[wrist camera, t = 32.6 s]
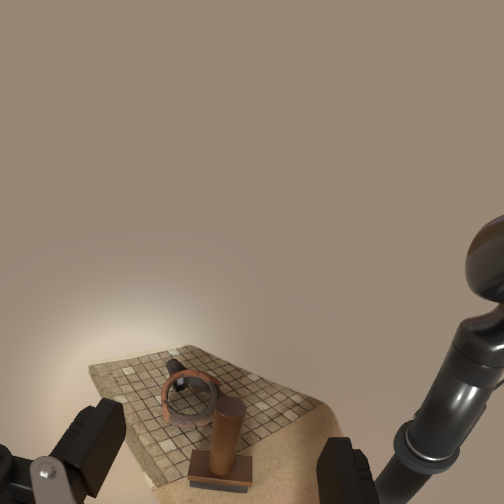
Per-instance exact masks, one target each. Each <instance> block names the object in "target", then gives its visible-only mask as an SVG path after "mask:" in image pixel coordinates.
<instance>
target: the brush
mask: <svg viewBox="0 0 504 504" xmlns="http://www.w3.org/2000/svg"><path fill="white" fill-rule="evenodd" d="M245 413H246V406H245V404H244V403H243V402H242V401H241V400H239V399H237V398H234V397H223V398H220V399H218V400H217V401H216V403H215V406H214V416H213V425H212V434H211V443H210V452H207V451H200V450H194V449H192V454H191V460H190V465H189V471H188V480H190V487H196V488H202V489H210V490H218V491H227V492H238V493H247V490H248V487H251V485H252V456H242V455H237V452H238V447H239V442H240V437H241V432H242V428H243V423H244V418H245Z"/></svg>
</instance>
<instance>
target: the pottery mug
mask: <svg viewBox="0 0 504 504" xmlns="http://www.w3.org/2000/svg"><path fill="white" fill-rule="evenodd" d="M166 367H167V369H168V372H169V374H170V377H169V378H168V379H167V381H166V382H165V383H164V385H163V387H162V391H161V403H162V407H163V408H162V411H161V413H162V415H163V417H164V419H165V420H166V422H167V423H170V424H171V425H173V426H176V427H180V428H186V429H196V428H197V426H199V427H203V426H205V425H207V424H208V423H210V422H212V421H213V416H214V406H215V403H216V401H217V400H218V399H220V398H223V397H226V395H224V394H223V393H222V391H221V390H220V389H219V386H222V385H221V383H220V382H219V381H218V380H217V379H216V378H215V377H213V376H212V375H210V374H208V373H205V372H202V371H196V370H188V369H186V368H185V367H184V366H183V365H182V364H181V363H180V362H179V361H178V360H177V359H171V360H169V361H168V362H167V363H166ZM189 383H190V386H191V388H192V392H193V393H195V392H207V393H211V401H210V404H209V405H208V406H207V407H206V408H205V409H204V410H203V411H201V412H200V413H197V414H193V415H186V414H181V413H179V412H177V411H175V410H174V409H173V408H172V407H169V406H168V392H169V389H170V387H171V386H173V389H174V391H175V392H179V391H181V390H184V389H185V388H186V386H187V385H188V384H189Z"/></svg>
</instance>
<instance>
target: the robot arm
mask: <svg viewBox="0 0 504 504" xmlns="http://www.w3.org/2000/svg"><path fill="white" fill-rule="evenodd" d="M465 263H466V264H465V275H466V280H467V283H468V286H469V287H470V289H471V290H472V291H473V292H474V294H476V295H477V296H479V297H481V298H483V299H485V300H489V301H493V302H497V303H499V305H498V306H497V307H496V308H495V309H494V310H492V311H490V312H489V313H486V314H484V315H480V316H475V317H471V318H467V319H465V320H463V321H462V322H461V323H460V324H459V326H458V328H457V330H456V333H455V336H454V338H453V340H452V343H451V345H450V348H449V350H448V352H447V355H446V357H445V359H444V362H443V364H442V366H441V368H440V370H439V372H438V374H437V376H436V379H435V381H434V383H433V385H432V387H431V389H430V391H429V393H428V394H427V396H426V398H425V400H424V402H423V404H422V406H421V408H420V409H419V410H418V411H417V412H416V413H415V414H414V416H415V415H416V416H415V418H414V420H413V421H412V423H411V424H410V426H409V427H408V429H407V430H406V432H405V435H404V442H405V445H406V447H407V449H408V450H409V451H410V453H411V454H412V455H414V456H415V457H416V458H418V459H420V460H422V461H425V462H429V463H440V462H443V461H445V460H447V459H448V458H450V457H451V455H452V454H453V453H454V452H455V451H457V450H458V449H459V448H460V446H461V445H462V443H463V442H464V440H465V439H466V438H467V436H468V435H469V434H470V432H471V431H472V429H473V428H474V426H475V424H476V423H477V422H478V420H479V419H480V417H481V416H482V414H483V412H484V411H485V409H486V403H487V401H488V399H489V398H490V396H491V394H492V392H493V391H494V390H496V389H497V388H498V387H499V386H501V385H502V384H503V383H504V379H503V380H502V381H501V382H499V383H498V381H499V379H500V377H501V375H502V373H503V371H504V215H502V216H500V217H498V218H496V219H494V220H492V221H490V222H489V223H487V224H486V225H485V226H483V227H482V229H481V230H480V231H479V232H478V233H477V235H476V236H475V237H474V239H473V241H472V243H471V245H470V248H469V250H468V253H467V257H466V262H465ZM497 383H498V384H497ZM414 416H413V417H414ZM125 436H126V423H125V417H124V411H123V405H122V403H120V402H117V401H113V400H110V399H107V398H102V399H101V400H100V402H99V404H98V405H97V406H96V408H95V407H92V406H88V407H86V408H85V409H83V410H81V411H80V412H79V413H78V415H77V416H76V418H75V419H74V422H72V423H71V425H70V426H69V429H67V430H66V432H65V433H64V435H63V436H62V438H61V439H60V441H59V442H58V443H57V445H56V446H55V448H54V449H53V451H52V452H51V454H50V455H49V456H42V457H39V458H37V459H35V460H29V459H25V458H21V457H17V456H13V455H12V454H11V452H10V451H9V449H8V448H6V447H5V446H4V445H1V444H0V504H84V500H85V498H86V496H87V495H88V496H91V497H93V498H96V497H97V495H98V492H99V490H100V488H101V486H102V484H103V482H104V480H105V478H106V476H107V474H108V472H109V470H110V468H111V466H112V464H113V462H114V460H115V458H116V456H117V454H118V451H119V449H120V447H121V445H122V443H123V441H124V439H125ZM316 473H317V482H318V490H319V499H320V504H380V503H379V500H378V496H377V492H376V488H375V485H374V481H373V479H372V474H371V471H370V467H369V463H368V459H367V458H366V456H365V455H364V454H363V453H362V452H361V450H360V449H353V448H352V444H351V441H350V438H348V437H329V438H328V440H327V442H326V444H325V446H324V448H323V450H322V452H321V454H320V456H319V458H318V461H317V467H316Z"/></svg>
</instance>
